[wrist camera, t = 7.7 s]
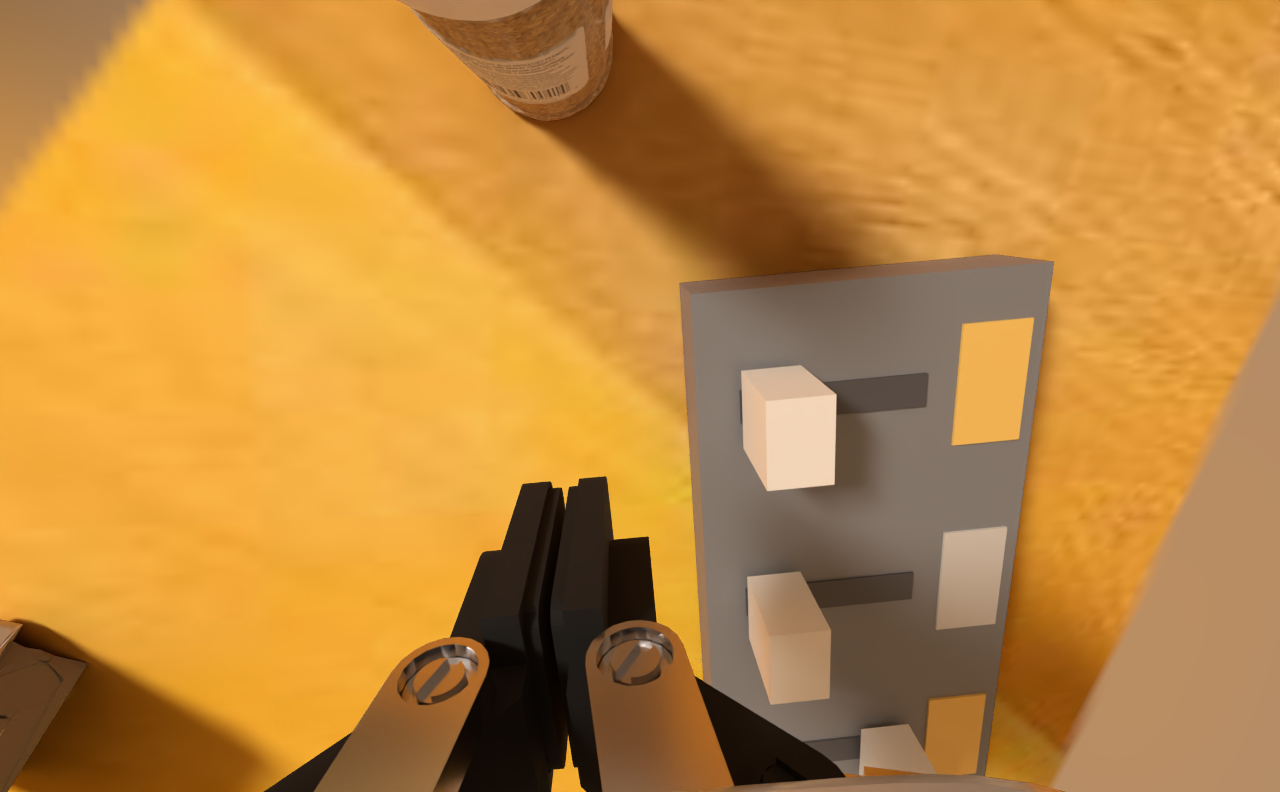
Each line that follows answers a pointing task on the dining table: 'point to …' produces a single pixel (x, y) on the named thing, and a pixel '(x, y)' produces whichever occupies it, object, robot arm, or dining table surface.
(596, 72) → the sprinkles bottle
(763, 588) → the slider middle
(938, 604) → the switch panel
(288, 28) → the dining table surface
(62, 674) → the electrical switch
